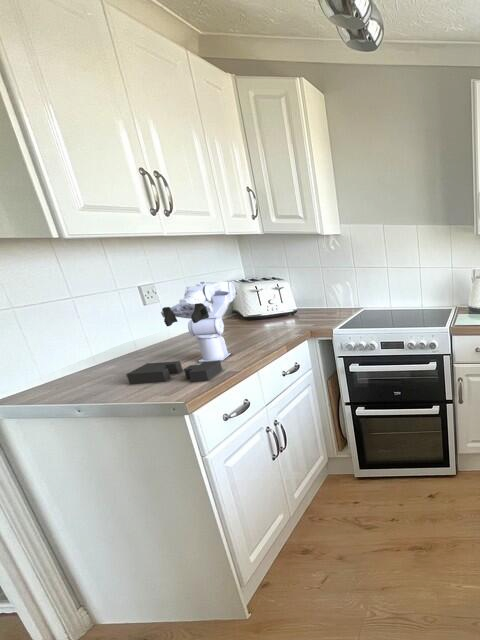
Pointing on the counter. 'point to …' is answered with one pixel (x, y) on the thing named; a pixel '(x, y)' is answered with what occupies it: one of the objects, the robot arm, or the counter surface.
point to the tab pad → (203, 371)
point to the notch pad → (154, 372)
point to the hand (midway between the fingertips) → (180, 322)
